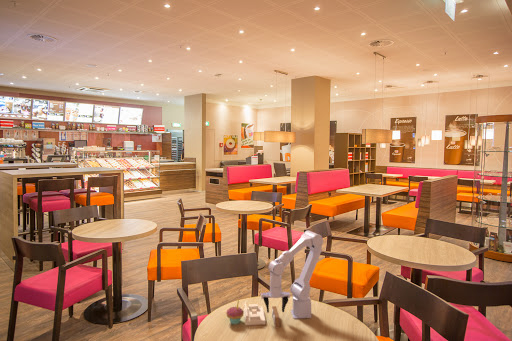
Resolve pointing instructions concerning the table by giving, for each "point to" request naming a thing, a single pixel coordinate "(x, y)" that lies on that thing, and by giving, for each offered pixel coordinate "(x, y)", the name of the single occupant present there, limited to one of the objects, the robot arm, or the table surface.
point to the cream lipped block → (253, 314)
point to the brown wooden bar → (275, 316)
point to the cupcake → (235, 314)
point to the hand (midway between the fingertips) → (275, 311)
